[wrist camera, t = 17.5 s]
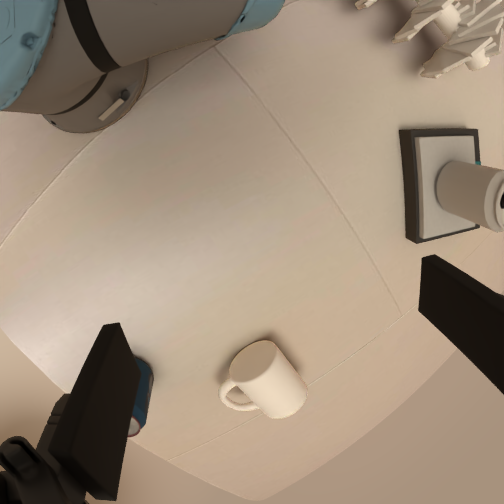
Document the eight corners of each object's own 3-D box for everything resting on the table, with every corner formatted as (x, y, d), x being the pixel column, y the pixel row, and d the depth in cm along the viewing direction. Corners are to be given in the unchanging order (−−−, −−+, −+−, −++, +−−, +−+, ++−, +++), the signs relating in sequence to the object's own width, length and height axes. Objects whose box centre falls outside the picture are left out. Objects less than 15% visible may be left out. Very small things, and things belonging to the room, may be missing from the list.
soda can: (105, 360, 45) (85, 413, 34) (139, 347, 45) (123, 402, 34) (129, 390, 48) (116, 443, 36) (162, 378, 47) (154, 434, 36)
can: (451, 149, 36) (514, 158, 25) (475, 185, 38) (533, 202, 27) (424, 188, 38) (486, 207, 26) (450, 222, 40) (507, 249, 29)
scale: (398, 130, 39) (415, 130, 35) (465, 128, 40) (483, 129, 36) (405, 237, 44) (420, 246, 40) (468, 223, 45) (484, 230, 41)
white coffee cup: (271, 331, 47) (282, 364, 39) (301, 371, 50) (314, 404, 42) (205, 367, 47) (205, 403, 40) (239, 402, 51) (244, 437, 43)
